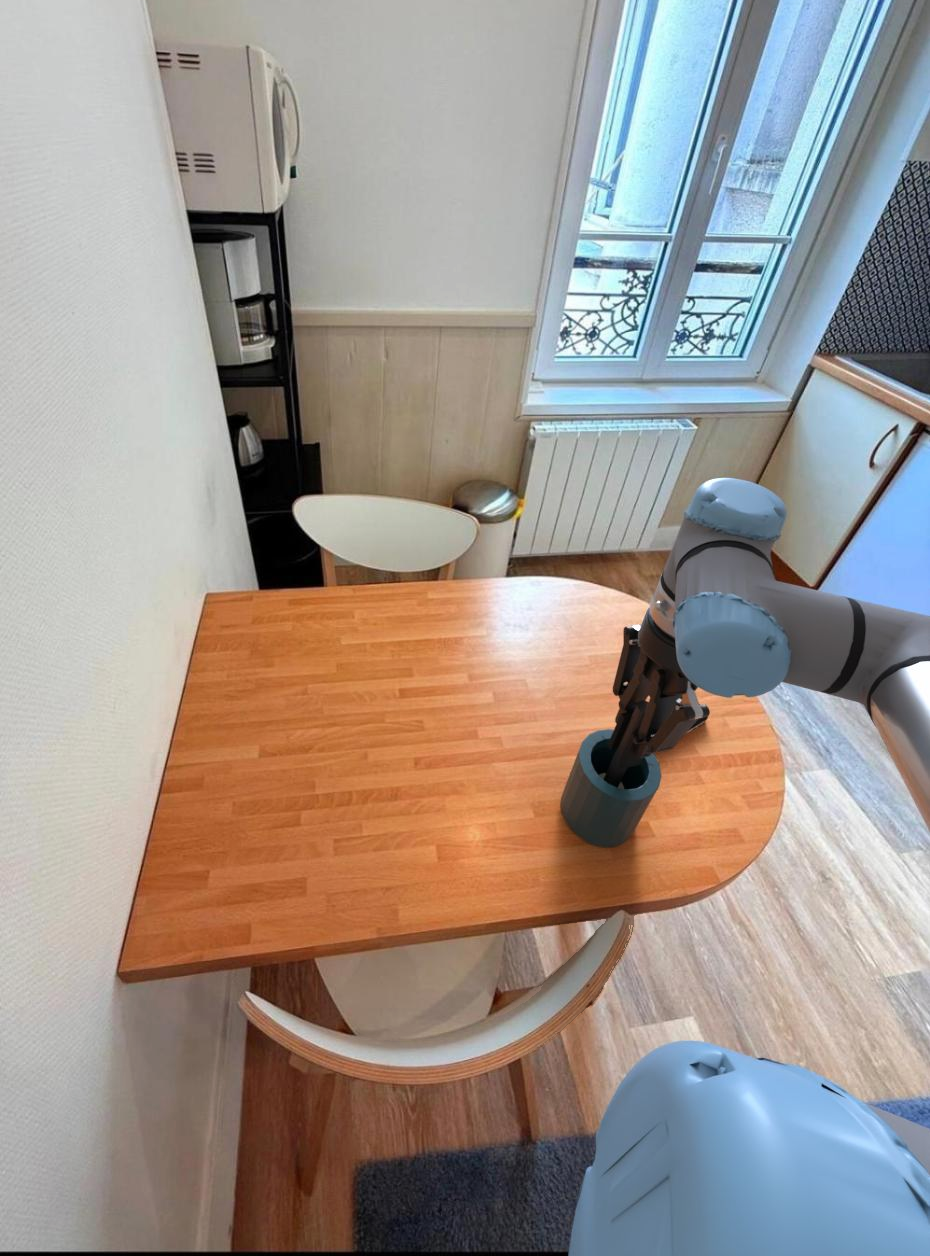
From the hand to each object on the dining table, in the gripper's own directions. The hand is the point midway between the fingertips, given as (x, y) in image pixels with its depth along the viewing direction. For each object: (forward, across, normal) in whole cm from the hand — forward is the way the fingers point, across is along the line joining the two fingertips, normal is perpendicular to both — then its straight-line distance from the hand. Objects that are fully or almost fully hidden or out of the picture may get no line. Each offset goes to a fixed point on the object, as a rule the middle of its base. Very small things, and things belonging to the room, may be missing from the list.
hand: (623, 754), depth 76 cm
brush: (+12, 0, 0) cm, 12 cm away
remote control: (+14, -11, +18) cm, 26 cm away
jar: (+14, 0, 0) cm, 14 cm away
